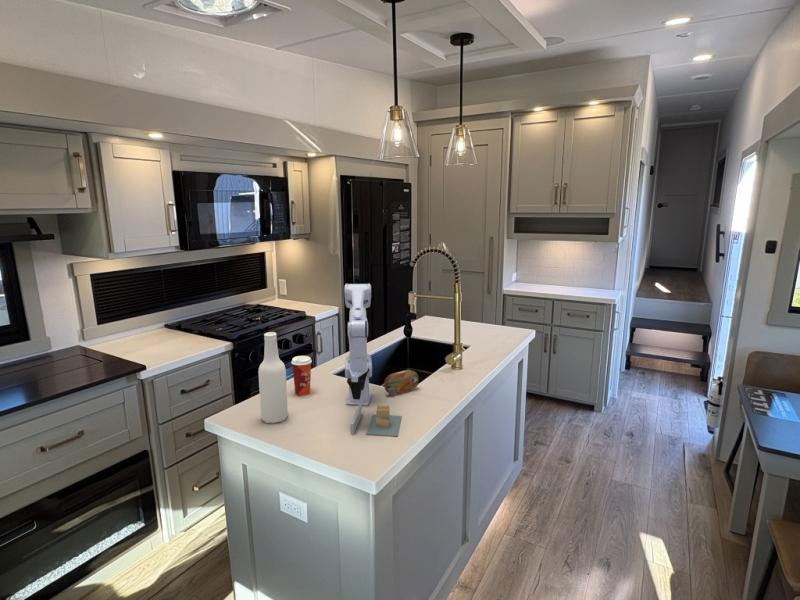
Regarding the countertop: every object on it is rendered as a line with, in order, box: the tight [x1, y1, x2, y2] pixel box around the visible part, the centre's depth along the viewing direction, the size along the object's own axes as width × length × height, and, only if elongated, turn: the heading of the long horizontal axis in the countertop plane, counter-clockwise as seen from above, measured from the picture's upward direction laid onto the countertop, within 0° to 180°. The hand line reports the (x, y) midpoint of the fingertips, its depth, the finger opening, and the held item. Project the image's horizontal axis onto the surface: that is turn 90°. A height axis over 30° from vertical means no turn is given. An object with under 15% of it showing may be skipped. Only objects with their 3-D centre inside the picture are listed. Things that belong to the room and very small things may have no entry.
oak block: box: [375, 404, 390, 428], centre depth 149 cm, size 4×4×6 cm
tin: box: [383, 369, 420, 397], centre depth 176 cm, size 15×3×8 cm, turn 124°
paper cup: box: [290, 355, 313, 396], centre depth 174 cm, size 8×8×14 cm
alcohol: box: [257, 331, 289, 424], centre depth 151 cm, size 9×9×30 cm
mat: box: [365, 413, 403, 438], centre depth 149 cm, size 14×10×1 cm
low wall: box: [350, 405, 363, 435], centre depth 150 cm, size 14×1×4 cm, turn 175°
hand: (358, 394), depth 151 cm, fingers open, 7 cm apart
